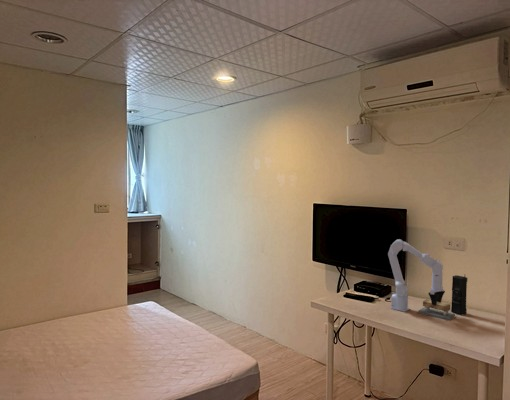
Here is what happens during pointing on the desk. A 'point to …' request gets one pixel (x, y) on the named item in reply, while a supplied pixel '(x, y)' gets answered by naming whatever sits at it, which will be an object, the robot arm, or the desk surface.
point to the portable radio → (459, 295)
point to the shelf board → (437, 305)
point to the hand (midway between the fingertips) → (436, 303)
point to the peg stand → (436, 313)
